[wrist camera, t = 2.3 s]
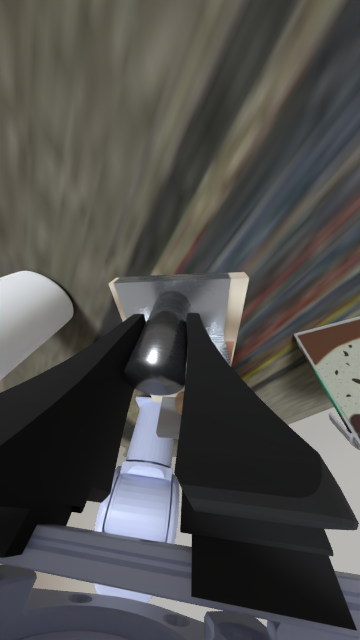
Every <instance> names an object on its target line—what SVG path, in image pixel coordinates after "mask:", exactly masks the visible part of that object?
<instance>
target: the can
mask: <svg viewBox="0 0 360 640" xmlns="http://www.w3.org/2000/svg"><path fill="white" fill-rule="evenodd" d="M72 316H73V304H72V301H71V299H70V297H69V296H68V294H67V293H66V292H65V291H64V290H63V288H61V287H60V286H59V285H58V284H57V283H55V282H54V281H53V280H51V279H49V278H47V277H45V276H43V275H40V274H37V273H34V272H30V271H20V272H17V273H13V274H10V275H7V276H4V277H1V278H0V380H1V379H2V378H3V377H5V376H6V375H7V374H8V373H9V372H11V371H12V370H13V369H14V368H15V367H16V366H18V365H19V364H20V363H21V362H22V361H23V360H24V359H26V358H27V357H28V356H29V355H30V354H31V353H33V352H34V351H35V350H36V349H37V348H38V347H40V346H41V345H42V344H43V343H44V342H45V341H47V340H48V339H49V338H50V337H51V336H52V335H53V334H55V333H56V332H57V331H58V330H59V329H60V328H62V327H63V326H64V325H65V324H66V323H67V322H68V321H69V320H70V319H71V318H72Z"/></svg>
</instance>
